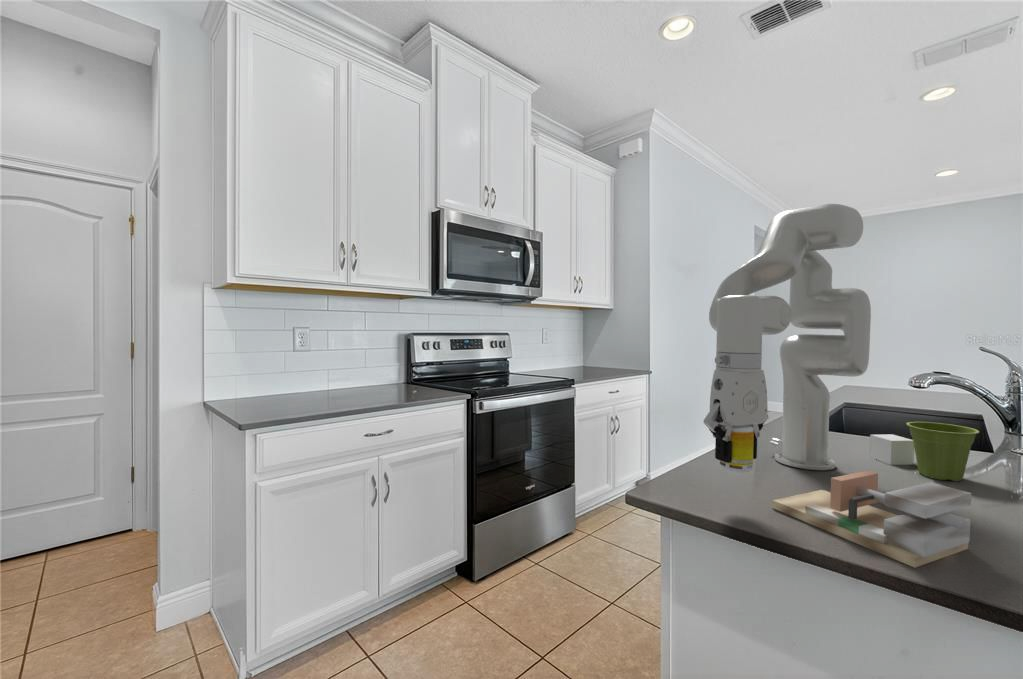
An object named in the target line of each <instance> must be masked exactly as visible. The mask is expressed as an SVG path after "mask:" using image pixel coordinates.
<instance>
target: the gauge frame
mask: <svg viewBox="0 0 1023 679" xmlns="http://www.w3.org/2000/svg"><path fill="white" fill-rule="evenodd" d="M884 494H885V504H884V506H885V507H888V508H892V509H894V510H898V511H902V512H904V513H903V514H900V515H899V514H895V513H892V512H890V511H886V510H884V509H881V508H877V507H874V506H872V505H866V506H862V507H858V508H857V519H855V520H853V519H850V518H848V512H849V510H846V511H842V512H839V511H836V510H834V509H831V508H830V498H831V491H827V490H825V489H819V490H815V491H809V492H804V493H800V494H795V495H791V496H786V497H781V498H777V499H772V502H771V503H772V505H771V506H772V507H771V508H772V509H774V510H777V511H778V512H780V513H783V514H785V515H788V516H790V517H793V518H795V519H797V520H800V521H802V522H805V523H806V524H809V525H812V526H814V527H817V528H818V529H821V530H823V531H826V532H829V533H831V534H833V535H836V536H838V537H841V538H843V539H845V540H847V541H850V542H852V543H855V544H857V545H859V546H862V547H864V548H866V549H869V550H872V551H874V552H876V553H879V554H881V555H883V556H886V557H888V558H891V559H893V560H896V561H898V562H900V563H903V564H905V565H908V566H910V567H911V568H914V569H916V568H919V567H922V566H924V565H927V564H930V563H933V562H935V561H938V560H941V559H944V558H947V557H950V556H951V555H952V556H953V555H955V554H957V553H960V552H964V551H966V550H969V543H970V541H971V540H970V538H971V519H969V518H965V517H962V516H958V515H956V514H953V513H950V512H953V511H956V510H961V509H963V508H967V507H971V506H972V492H968V491H965V490H961V489H959V488H958V489H957V488H954V487H951V486H950V487H949V486H947V485H942V484H940V483H935V482H931V481H930V482H926V483H925V482H924V483H921V484H920V483H919V484H917V485H916V484H915V485H912V486H908V487H903V488H900V489H896V490H891V491H887V492H885V493H884ZM943 513H948V514H952V515H955V516H958V517H961V518H963V519H964V525H963V527H962V528H961V529H959V528H956V527H953V526H950V525H947V524H944V523H941V522H938V521H935V520H932V519H929V517H933V516H936V515H940V514H943Z"/></svg>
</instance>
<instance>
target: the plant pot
mask: <svg viewBox="0 0 1023 679" xmlns="http://www.w3.org/2000/svg"><path fill="white" fill-rule="evenodd" d="M906 426H907V427H909V433H910V436H911V437H912V440H913V443H914V455H915V458H916V465H917V470H918V473H919V474H921V475H923V476H924V477H927V478H932V479H935V480H940V481H947V480H950V481H952V482H959V481H960V482H961V481H963V479H964V476H965V472H966V469H967V463H968V460H969V456H970V453H971V449H972V445H973V444H974V441H975V439H976V436H977V434H978V435H979V434H980V431H979V430H978V429H976V428H972V427H967V426H963V425H956V424H949V423H941V422H931V421H930V422H929V421H910V422H909V421H908V422H906Z"/></svg>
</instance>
